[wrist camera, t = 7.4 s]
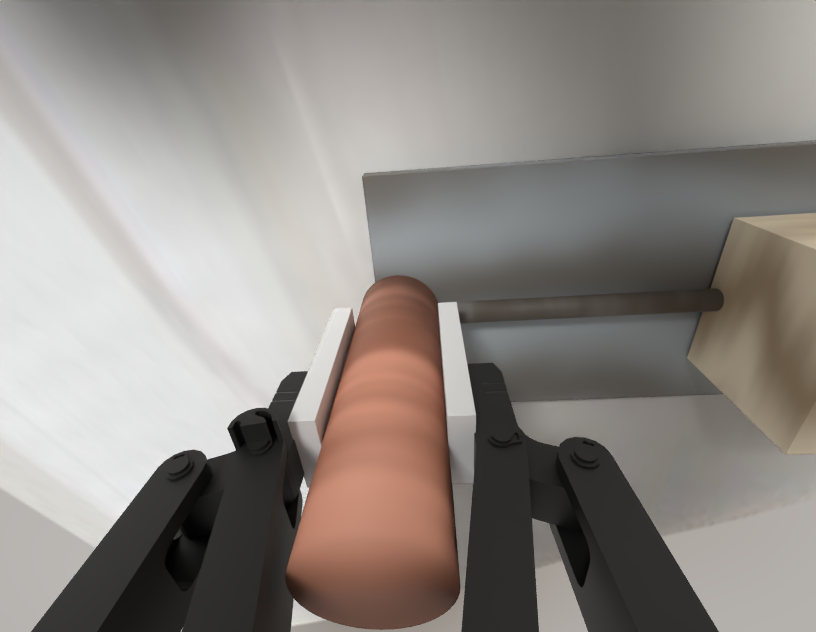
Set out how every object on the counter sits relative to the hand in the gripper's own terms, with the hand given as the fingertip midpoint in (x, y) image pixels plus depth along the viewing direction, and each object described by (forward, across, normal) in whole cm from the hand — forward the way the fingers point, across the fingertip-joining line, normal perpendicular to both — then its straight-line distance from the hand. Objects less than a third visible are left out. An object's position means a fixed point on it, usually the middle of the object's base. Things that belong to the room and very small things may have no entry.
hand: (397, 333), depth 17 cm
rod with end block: (+2, +10, 0) cm, 10 cm away
